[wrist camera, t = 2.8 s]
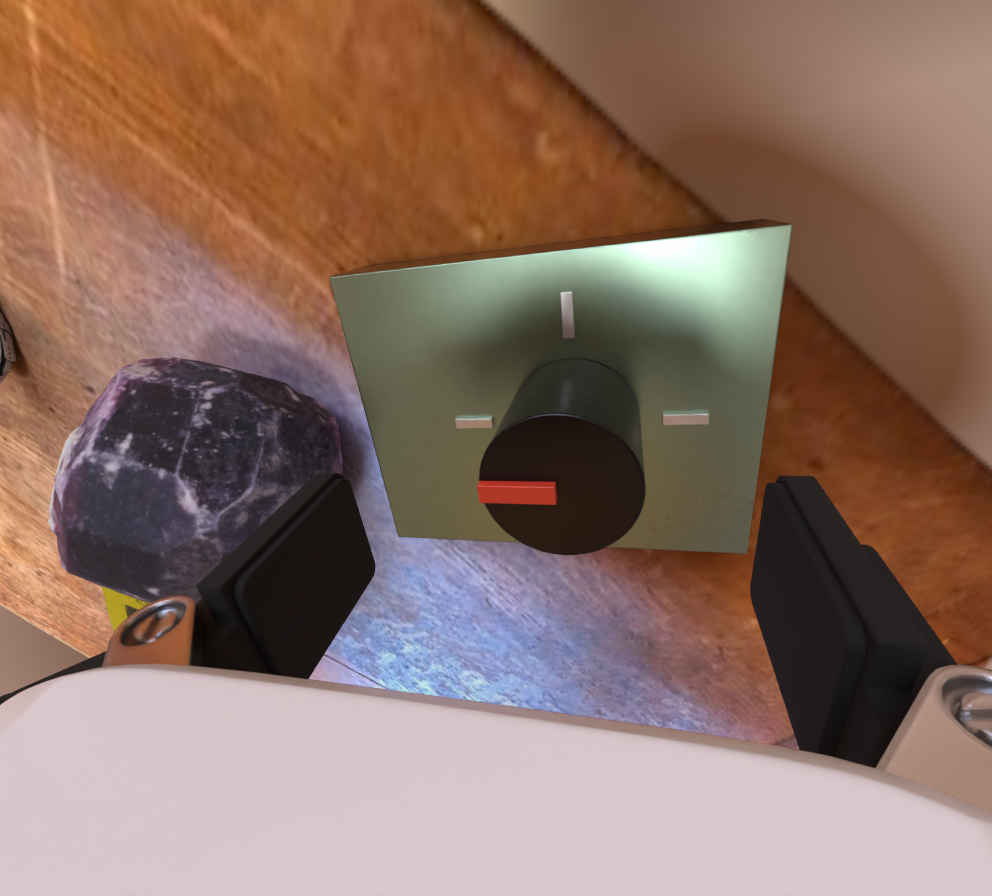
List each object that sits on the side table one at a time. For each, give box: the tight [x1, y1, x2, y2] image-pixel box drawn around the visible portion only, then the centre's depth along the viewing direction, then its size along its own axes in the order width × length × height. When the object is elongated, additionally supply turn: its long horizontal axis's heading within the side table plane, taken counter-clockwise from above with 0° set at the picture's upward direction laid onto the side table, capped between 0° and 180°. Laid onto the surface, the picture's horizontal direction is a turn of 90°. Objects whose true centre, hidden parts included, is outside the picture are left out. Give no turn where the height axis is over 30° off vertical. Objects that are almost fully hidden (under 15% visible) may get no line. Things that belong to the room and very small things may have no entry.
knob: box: [477, 359, 646, 555], centre depth 14 cm, size 4×4×5 cm
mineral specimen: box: [48, 358, 342, 604], centre depth 20 cm, size 10×10×10 cm
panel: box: [329, 219, 793, 554], centre depth 18 cm, size 14×11×3 cm
